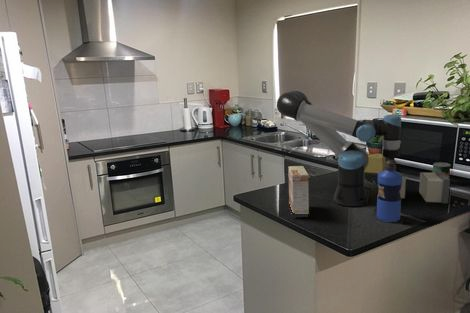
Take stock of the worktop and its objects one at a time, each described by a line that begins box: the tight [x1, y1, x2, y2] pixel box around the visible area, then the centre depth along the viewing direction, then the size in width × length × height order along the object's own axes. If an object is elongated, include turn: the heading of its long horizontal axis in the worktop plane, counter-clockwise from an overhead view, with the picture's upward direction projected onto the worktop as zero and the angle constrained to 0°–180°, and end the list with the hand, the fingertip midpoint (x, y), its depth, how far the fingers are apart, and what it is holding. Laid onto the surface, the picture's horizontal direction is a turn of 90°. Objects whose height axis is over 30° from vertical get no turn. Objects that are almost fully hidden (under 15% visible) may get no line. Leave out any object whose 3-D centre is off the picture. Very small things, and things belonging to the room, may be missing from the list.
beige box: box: [400, 173, 407, 199], centre depth 177 cm, size 9×6×10 cm
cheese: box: [364, 153, 386, 174], centre depth 221 cm, size 10×11×10 cm
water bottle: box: [376, 160, 403, 223], centre depth 150 cm, size 9×9×25 cm
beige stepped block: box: [418, 170, 451, 204], centre depth 173 cm, size 9×16×11 cm, turn 166°
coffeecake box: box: [288, 165, 310, 215], centre depth 163 cm, size 15×7×20 cm, turn 178°
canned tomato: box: [432, 161, 451, 179], centre depth 190 cm, size 8×8×11 cm
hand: (389, 193), depth 179 cm, fingers open, 9 cm apart
